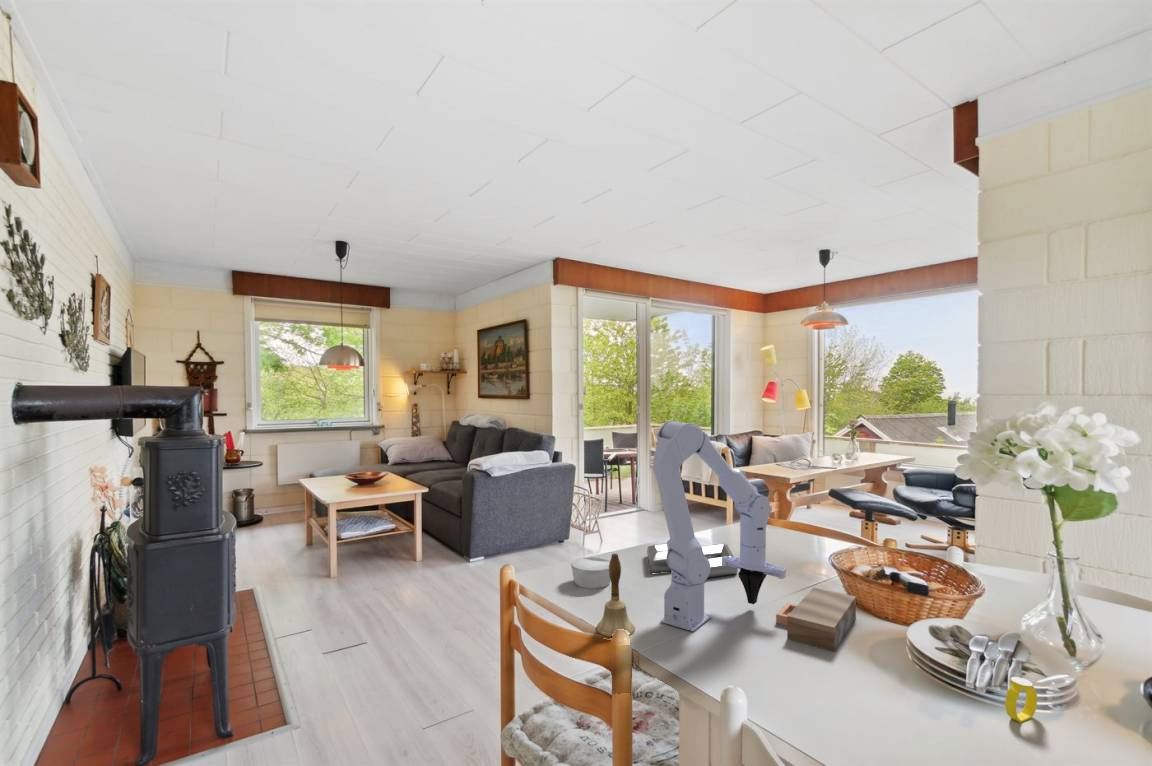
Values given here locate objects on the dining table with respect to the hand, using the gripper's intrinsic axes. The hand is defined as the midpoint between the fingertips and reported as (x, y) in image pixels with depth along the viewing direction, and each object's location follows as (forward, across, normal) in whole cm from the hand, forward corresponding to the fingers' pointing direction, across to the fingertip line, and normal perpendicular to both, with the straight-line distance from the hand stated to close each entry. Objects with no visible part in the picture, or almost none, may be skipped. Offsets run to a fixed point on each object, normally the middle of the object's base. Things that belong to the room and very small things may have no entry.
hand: (752, 602), depth 129 cm
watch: (+2, -49, +15) cm, 51 cm away
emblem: (+2, +26, -20) cm, 32 cm away
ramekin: (+2, +40, +9) cm, 41 cm away
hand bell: (+2, +19, +28) cm, 34 cm away
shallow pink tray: (+2, -13, 0) cm, 13 cm away
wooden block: (+2, -16, 0) cm, 16 cm away
